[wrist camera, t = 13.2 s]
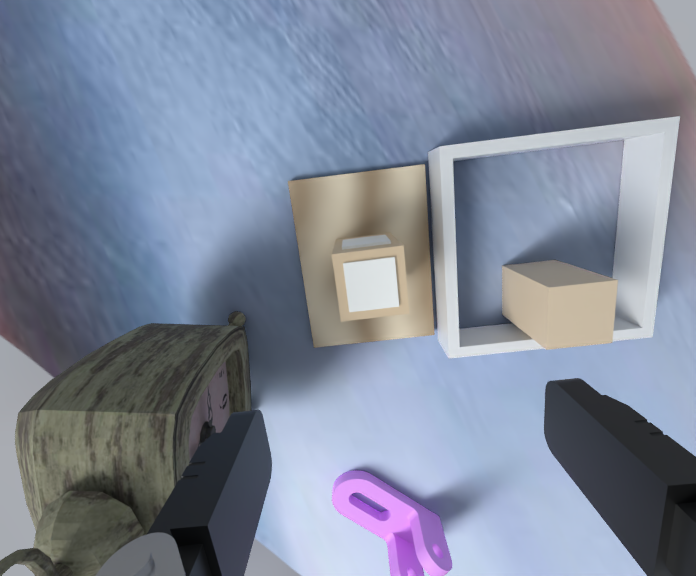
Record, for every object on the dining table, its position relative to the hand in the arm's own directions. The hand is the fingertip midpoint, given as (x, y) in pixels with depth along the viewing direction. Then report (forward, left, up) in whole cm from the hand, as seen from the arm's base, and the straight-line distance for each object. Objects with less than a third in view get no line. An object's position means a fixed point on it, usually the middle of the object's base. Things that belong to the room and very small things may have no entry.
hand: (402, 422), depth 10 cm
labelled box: (0, 0, -23) cm, 23 cm away
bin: (-16, 0, -24) cm, 29 cm away
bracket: (+1, +29, -24) cm, 38 cm away
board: (0, 0, -24) cm, 24 cm away
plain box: (-16, +4, -24) cm, 29 cm away
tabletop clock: (+16, +9, -24) cm, 31 cm away
